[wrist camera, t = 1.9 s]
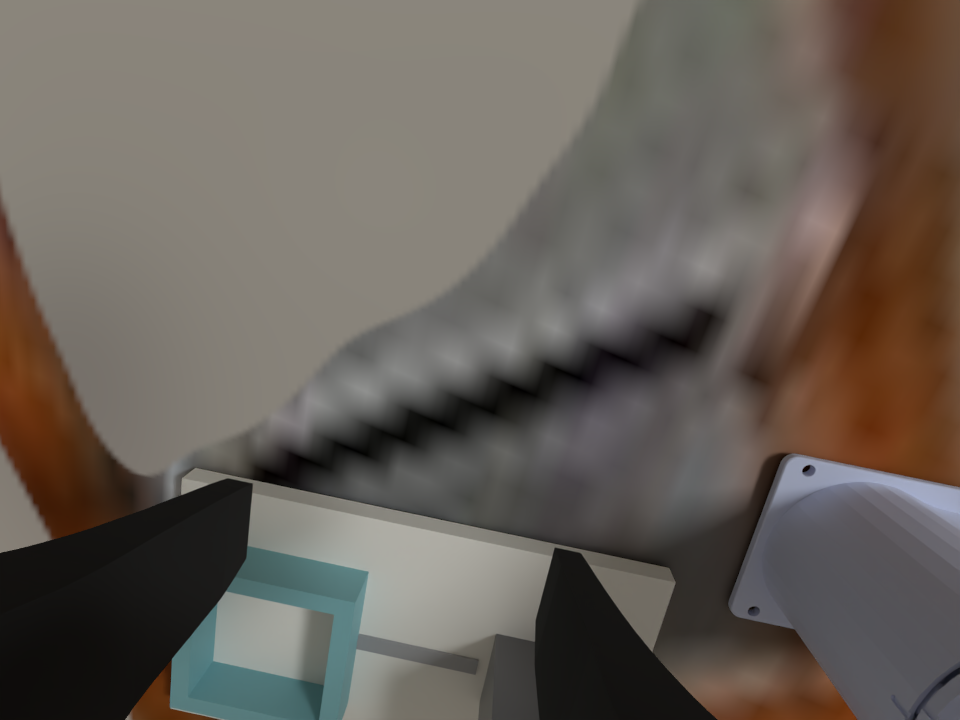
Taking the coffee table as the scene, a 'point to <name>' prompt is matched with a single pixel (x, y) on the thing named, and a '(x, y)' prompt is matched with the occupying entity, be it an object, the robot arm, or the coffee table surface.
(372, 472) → the coffee table surface
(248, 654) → the board
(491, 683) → the cable plug
